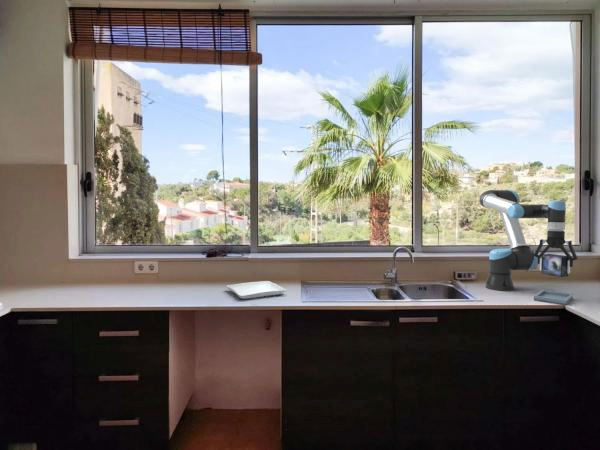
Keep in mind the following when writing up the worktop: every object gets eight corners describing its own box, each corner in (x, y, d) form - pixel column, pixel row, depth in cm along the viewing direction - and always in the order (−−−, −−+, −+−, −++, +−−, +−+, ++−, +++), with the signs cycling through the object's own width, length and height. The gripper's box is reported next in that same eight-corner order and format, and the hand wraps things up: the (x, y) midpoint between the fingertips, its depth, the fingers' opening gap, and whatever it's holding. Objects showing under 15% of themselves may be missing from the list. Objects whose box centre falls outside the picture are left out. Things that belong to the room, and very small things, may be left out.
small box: (540, 273, 203) (541, 254, 202) (548, 272, 205) (549, 253, 205) (560, 277, 193) (561, 256, 192) (568, 276, 195) (569, 256, 195)
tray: (533, 300, 198) (533, 295, 198) (542, 294, 211) (542, 290, 211) (566, 305, 189) (566, 300, 188) (572, 298, 201) (572, 294, 201)
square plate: (225, 291, 223) (225, 284, 223) (268, 286, 236) (268, 280, 235) (240, 301, 199) (240, 294, 199) (287, 295, 212) (287, 288, 211)
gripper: (528, 229, 203) (526, 269, 205) (583, 231, 187) (581, 275, 188) (531, 228, 209) (530, 268, 210) (585, 231, 192) (583, 273, 193)
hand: (554, 271), depth 199 cm, fingers closed on small box, 12 cm apart
